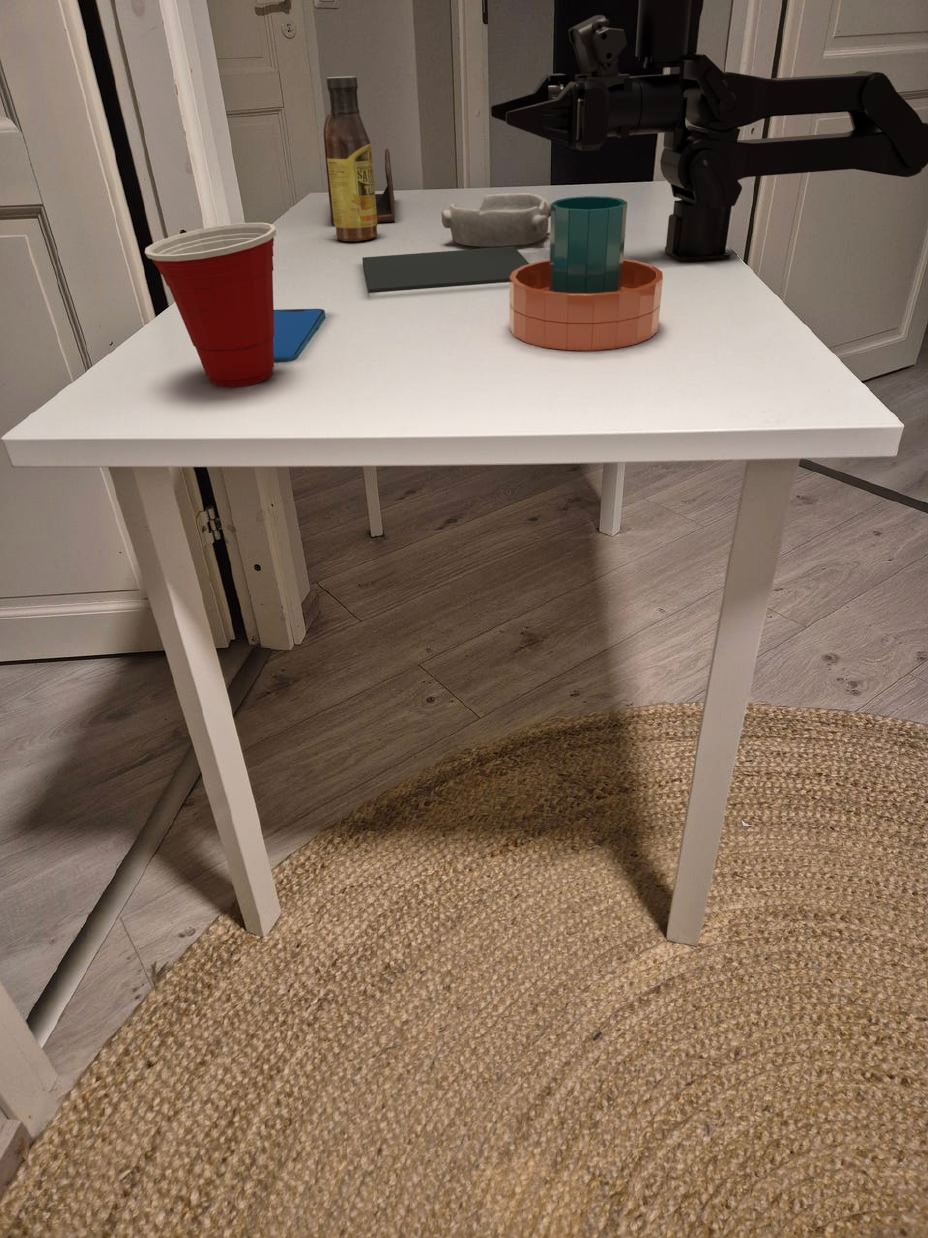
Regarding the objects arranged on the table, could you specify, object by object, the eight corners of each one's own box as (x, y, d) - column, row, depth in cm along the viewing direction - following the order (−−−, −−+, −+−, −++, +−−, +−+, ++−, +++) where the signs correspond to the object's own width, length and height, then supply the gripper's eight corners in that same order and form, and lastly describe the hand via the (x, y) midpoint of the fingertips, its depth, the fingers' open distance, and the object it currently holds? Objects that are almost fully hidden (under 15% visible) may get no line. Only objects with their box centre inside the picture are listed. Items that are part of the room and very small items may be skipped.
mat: (514, 254, 109) (514, 245, 108) (540, 284, 96) (540, 275, 96) (363, 265, 107) (362, 257, 107) (369, 297, 94) (368, 288, 94)
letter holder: (331, 226, 129) (318, 121, 121) (338, 203, 145) (327, 109, 137) (395, 222, 129) (387, 117, 121) (394, 200, 145) (387, 106, 137)
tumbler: (606, 314, 84) (613, 194, 77) (626, 334, 78) (635, 206, 72) (542, 319, 83) (544, 198, 76) (558, 340, 78) (561, 211, 71)
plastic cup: (189, 360, 79) (157, 223, 72) (303, 352, 79) (282, 216, 72) (166, 402, 70) (126, 251, 63) (293, 393, 70) (268, 242, 63)
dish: (435, 248, 113) (433, 208, 111) (472, 227, 124) (471, 190, 121) (535, 253, 109) (536, 212, 106) (565, 231, 119) (566, 193, 116)
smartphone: (218, 359, 78) (260, 309, 90) (220, 369, 78) (261, 318, 90) (294, 358, 77) (327, 308, 89) (296, 368, 78) (328, 317, 90)
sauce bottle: (371, 243, 118) (355, 76, 106) (330, 243, 119) (309, 78, 107) (384, 233, 123) (370, 73, 111) (344, 233, 124) (326, 75, 112)
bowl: (630, 307, 87) (635, 252, 84) (678, 349, 76) (685, 287, 73) (498, 318, 86) (498, 262, 83) (526, 363, 75) (527, 300, 71)
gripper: (613, 18, 97) (482, 26, 95) (668, 17, 82) (514, 25, 80) (607, 128, 103) (484, 137, 102) (658, 146, 88) (515, 156, 87)
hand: (498, 114), depth 92 cm, fingers open, 9 cm apart
